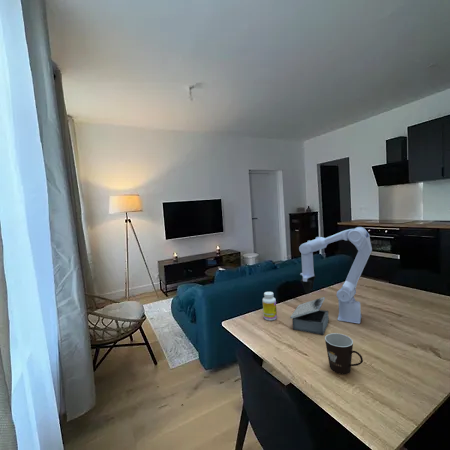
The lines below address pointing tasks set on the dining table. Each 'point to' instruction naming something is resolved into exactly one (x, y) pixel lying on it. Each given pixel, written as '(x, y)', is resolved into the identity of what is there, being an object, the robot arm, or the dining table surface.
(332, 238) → the robot arm
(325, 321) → the grey square box
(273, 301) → the supplement bottle
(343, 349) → the coffee mug
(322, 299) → the steel lid
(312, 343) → the dining table surface
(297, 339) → the dining table surface
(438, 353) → the dining table surface
